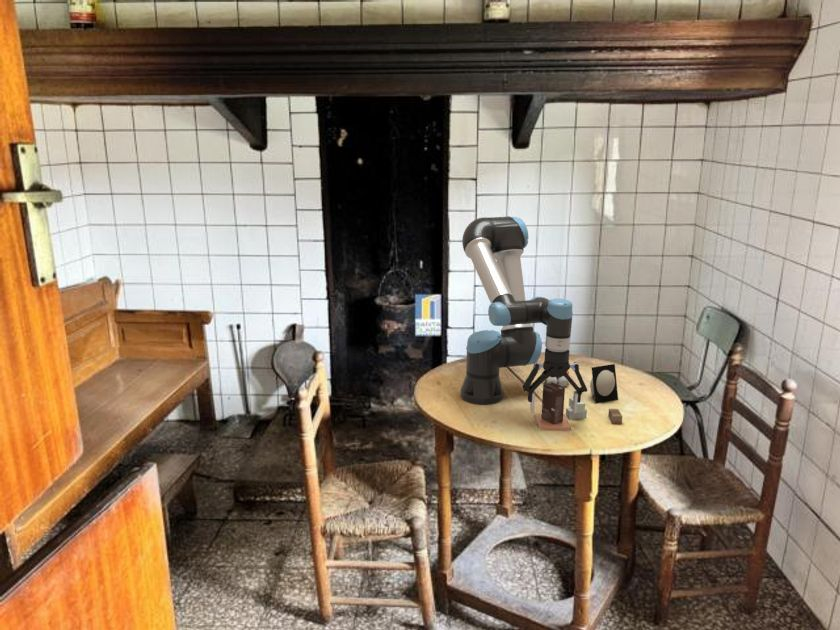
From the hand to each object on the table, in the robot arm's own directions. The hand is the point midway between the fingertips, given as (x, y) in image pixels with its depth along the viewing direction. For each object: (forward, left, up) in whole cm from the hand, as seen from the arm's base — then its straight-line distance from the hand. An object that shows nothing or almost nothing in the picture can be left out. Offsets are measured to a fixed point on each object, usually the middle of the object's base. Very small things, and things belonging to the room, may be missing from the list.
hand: (553, 411), depth 205 cm
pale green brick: (+9, +6, -2) cm, 10 cm away
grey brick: (+9, +6, -4) cm, 11 cm away
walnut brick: (+21, +3, -4) cm, 22 cm away
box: (0, 0, -3) cm, 3 cm away
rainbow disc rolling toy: (+8, +36, -5) cm, 37 cm away
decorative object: (+21, +22, -4) cm, 31 cm away
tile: (0, 0, -4) cm, 4 cm away
